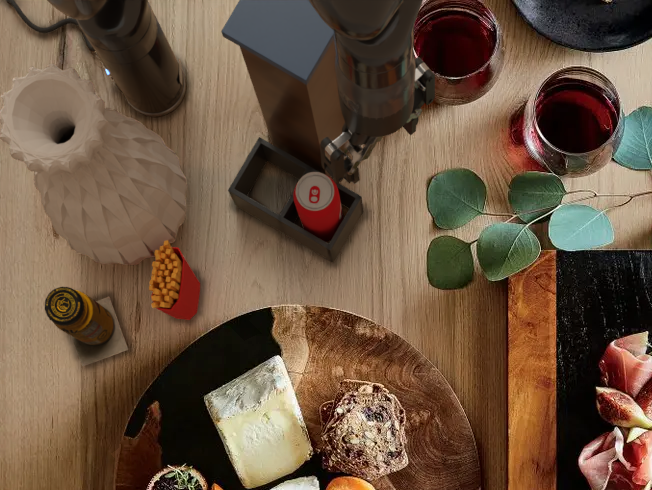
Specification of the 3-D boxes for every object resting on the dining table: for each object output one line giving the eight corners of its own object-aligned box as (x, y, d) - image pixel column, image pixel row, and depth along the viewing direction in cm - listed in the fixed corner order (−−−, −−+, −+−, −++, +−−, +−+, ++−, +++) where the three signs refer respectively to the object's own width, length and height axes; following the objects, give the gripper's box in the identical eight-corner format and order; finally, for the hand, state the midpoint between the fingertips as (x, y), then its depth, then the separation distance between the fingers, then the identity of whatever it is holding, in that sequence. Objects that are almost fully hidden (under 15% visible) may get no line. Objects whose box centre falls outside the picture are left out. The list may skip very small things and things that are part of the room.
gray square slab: (222, 36, 92) (220, 31, 91) (267, -41, 92) (266, -47, 91) (307, 85, 92) (306, 80, 91) (352, 8, 92) (351, 2, 91)
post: (275, 151, 122) (234, 33, 92) (302, 105, 122) (271, -29, 92) (327, 182, 122) (303, 73, 92) (354, 135, 122) (340, 11, 92)
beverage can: (346, 204, 122) (340, 169, 110) (342, 245, 122) (335, 216, 110) (304, 200, 122) (294, 165, 110) (300, 241, 122) (289, 211, 110)
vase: (53, 263, 122) (-59, 181, 92) (85, 133, 122) (-17, 9, 92) (183, 295, 122) (113, 223, 92) (215, 164, 122) (156, 49, 92)
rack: (236, 206, 122) (227, 190, 116) (266, 155, 122) (259, 136, 116) (333, 263, 122) (330, 250, 116) (363, 212, 122) (362, 196, 116)
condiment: (109, 296, 122) (78, 272, 110) (128, 350, 122) (99, 331, 110) (63, 313, 122) (27, 291, 110) (83, 366, 122) (48, 350, 110)
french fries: (174, 266, 122) (148, 236, 109) (203, 269, 122) (180, 240, 109) (167, 327, 122) (140, 305, 109) (196, 330, 122) (172, 308, 109)
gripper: (406, -2, 78) (404, 87, 95) (293, 97, 79) (311, 168, 95) (458, 58, 78) (447, 136, 95) (345, 156, 79) (353, 217, 95)
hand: (379, 152), depth 95 cm, fingers open, 8 cm apart
